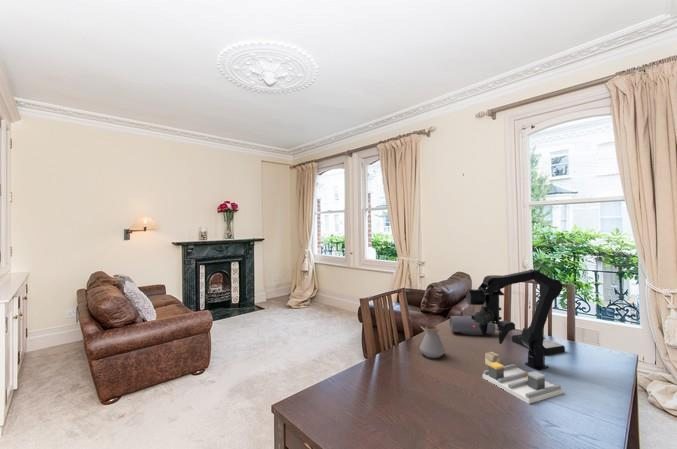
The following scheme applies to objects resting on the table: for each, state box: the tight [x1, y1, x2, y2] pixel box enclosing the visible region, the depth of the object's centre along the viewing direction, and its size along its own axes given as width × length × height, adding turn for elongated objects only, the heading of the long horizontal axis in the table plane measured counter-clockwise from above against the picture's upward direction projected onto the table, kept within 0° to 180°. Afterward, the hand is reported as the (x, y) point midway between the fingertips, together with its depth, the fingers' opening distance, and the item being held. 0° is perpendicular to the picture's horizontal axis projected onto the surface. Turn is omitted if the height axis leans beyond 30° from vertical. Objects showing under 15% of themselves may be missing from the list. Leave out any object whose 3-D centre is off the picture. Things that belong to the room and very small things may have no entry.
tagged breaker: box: [487, 362, 505, 380], centre depth 124 cm, size 4×4×5 cm
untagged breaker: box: [528, 370, 546, 390], centre depth 116 cm, size 4×4×5 cm
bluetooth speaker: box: [449, 315, 497, 336], centre depth 178 cm, size 23×9×10 cm, turn 81°
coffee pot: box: [408, 315, 446, 359], centre depth 154 cm, size 21×12×15 cm, turn 29°
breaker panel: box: [482, 363, 564, 405], centre depth 121 cm, size 18×20×3 cm
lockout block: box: [484, 351, 501, 366], centre depth 138 cm, size 4×4×5 cm
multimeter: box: [511, 333, 566, 356], centre depth 159 cm, size 13×19×5 cm
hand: (492, 340), depth 138 cm, fingers open, 8 cm apart
